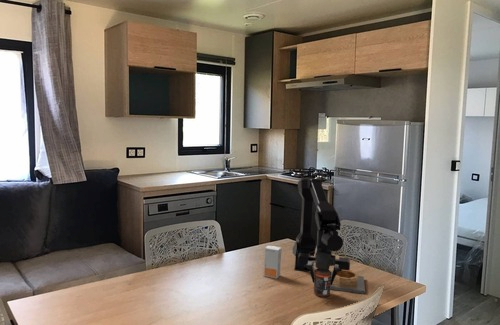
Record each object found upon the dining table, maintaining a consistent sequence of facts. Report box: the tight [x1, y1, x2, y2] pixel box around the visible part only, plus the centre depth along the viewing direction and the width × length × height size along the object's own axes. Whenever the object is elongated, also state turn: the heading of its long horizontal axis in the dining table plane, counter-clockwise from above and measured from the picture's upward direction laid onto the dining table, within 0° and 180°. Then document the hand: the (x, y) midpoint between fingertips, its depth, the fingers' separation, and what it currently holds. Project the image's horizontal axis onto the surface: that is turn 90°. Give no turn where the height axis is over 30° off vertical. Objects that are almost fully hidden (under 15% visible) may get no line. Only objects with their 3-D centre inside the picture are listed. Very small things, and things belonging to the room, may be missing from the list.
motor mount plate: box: [330, 270, 366, 295], centre depth 159 cm, size 15×15×4 cm
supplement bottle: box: [313, 268, 331, 298], centre depth 148 cm, size 6×6×11 cm
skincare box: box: [262, 245, 282, 280], centre depth 164 cm, size 6×4×12 cm
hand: (322, 283), depth 148 cm, fingers open, 6 cm apart
